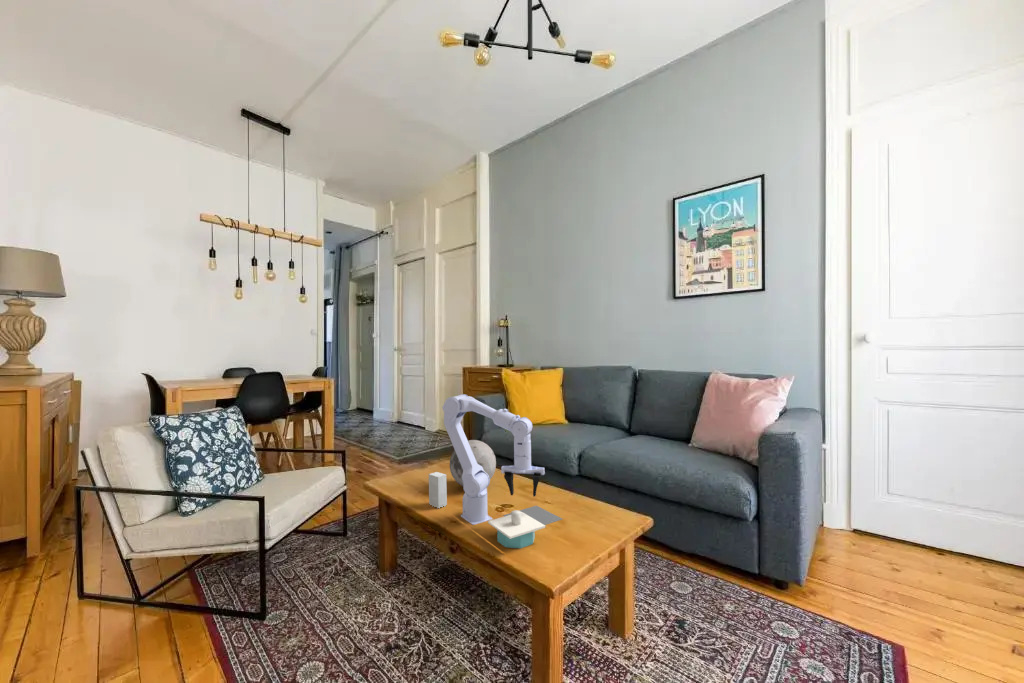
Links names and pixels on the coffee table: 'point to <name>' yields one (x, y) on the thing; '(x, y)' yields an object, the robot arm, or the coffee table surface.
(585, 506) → the coffee table surface
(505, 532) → the lid
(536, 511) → the mat
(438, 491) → the skincare box
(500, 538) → the bowl
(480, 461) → the moon model
